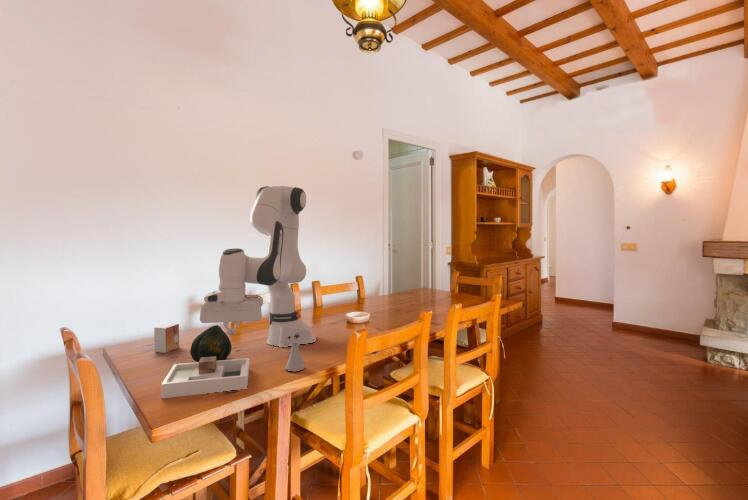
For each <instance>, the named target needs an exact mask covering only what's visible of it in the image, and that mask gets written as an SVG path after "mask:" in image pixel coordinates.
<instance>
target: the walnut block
mask: <svg viewBox="0 0 748 500" xmlns="http://www.w3.org/2000/svg"><path fill="white" fill-rule="evenodd" d="M215 370H216V356H213V357H201V359H200V361H199V374H205V373H215Z"/></svg>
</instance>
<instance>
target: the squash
mask: <svg viewBox="0 0 748 500" xmlns="http://www.w3.org/2000/svg"><path fill="white" fill-rule="evenodd" d="M189 353H190V355H191V359H192V360H193V361H194V362H199V361H200V359H201V357H213V356H216V361H219V360H227V359H228V357H230V354H231V353H232V342H231V340H230V337H229V335H227V332H225V331H224V330H223V329H222V328H221V326H219V325H218V324H216V325H212V326H210V327H208V328H207V329H205V330H204V331H202V332H201V333H200V334H198V335H197V336H196V337H195V338H194V340H193V341H192V343H191V346H190V350H189Z"/></svg>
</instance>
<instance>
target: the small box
mask: <svg viewBox="0 0 748 500" xmlns="http://www.w3.org/2000/svg"><path fill="white" fill-rule="evenodd" d="M153 329H154V330H153V331H154V332H153V333H154V338H153V339H154V342H153V343H154V352H155V353H163V354H166V353H168V352H171V351H174V350H176V349H178V348H180V323H171V322H168V323H165V324H162V325H159V326H156V327H154V328H153Z"/></svg>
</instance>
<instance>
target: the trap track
mask: <svg viewBox="0 0 748 500" xmlns="http://www.w3.org/2000/svg"><path fill="white" fill-rule="evenodd" d="M249 375H250V358H249V357H247V358H246V357H245V358H234V359H225V360H219V361H216V370H215V373H205V374H199V362H196V361H194V362H184V363H183V362H182V363H174V364H173V365H172V367H171V368H170V370H169V371H168V373H167V375H166V376H165V377H164V379H163V381H162V382H161V384H160V386H161V387H160V389H161V396H160V397H161V399H168V398H178V397H188V396H198V395H199V396H200V395H208V394H207V393H209V394H215V393H214V392H219V393H224V392H223V391H228V392H231V391H230V390H238V391H241V390H240V389H247V390H248V387H247V386H248V385H249V378H248V377H249Z"/></svg>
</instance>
